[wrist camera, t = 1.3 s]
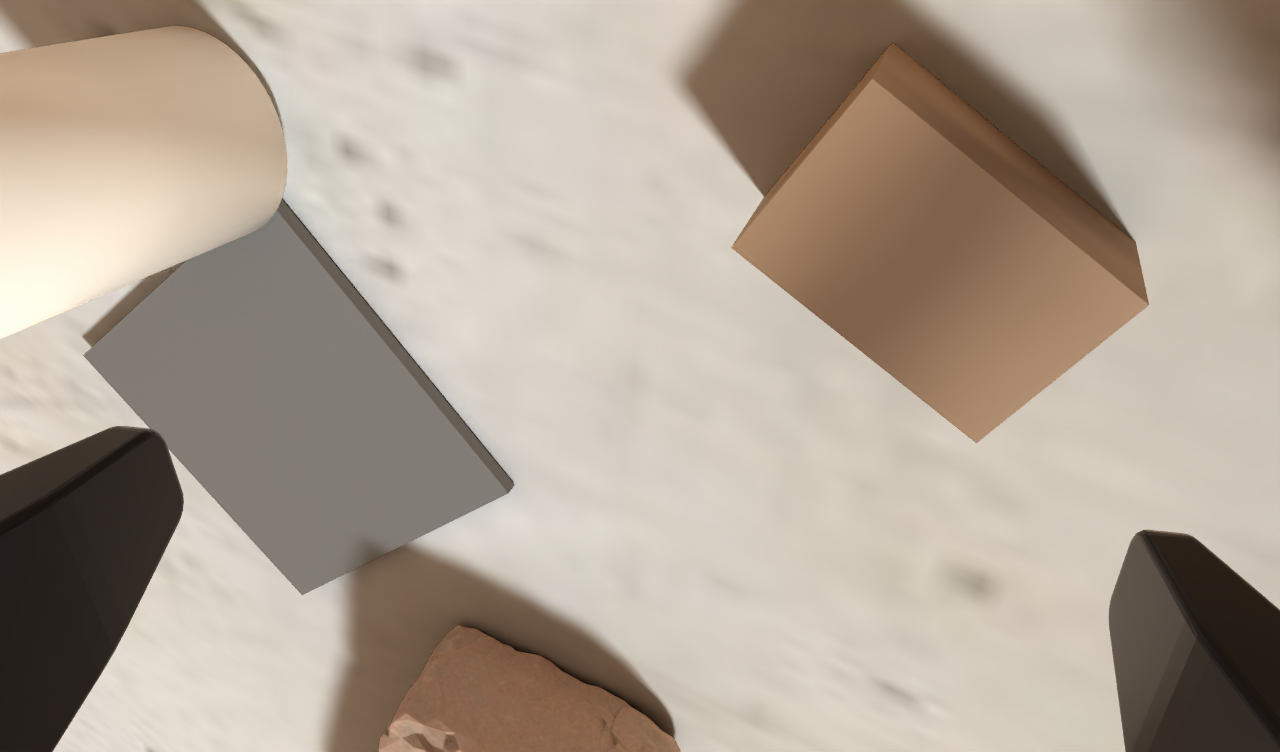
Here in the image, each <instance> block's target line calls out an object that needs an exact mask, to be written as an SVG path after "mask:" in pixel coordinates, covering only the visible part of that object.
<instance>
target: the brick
mask: <svg viewBox="0 0 1280 752" xmlns="http://www.w3.org/2000/svg"><path fill="white" fill-rule="evenodd" d="M378 752H680V749H679V747H678V745H677V743H676V741H675V739H674V738H673V737H671V736H670V735H668V734H667V733H665V732H663V731H662V730H661V729H660V728H659V727H658V726H657V725H656V724H655V723H654V722H653V721H652V720H651V719H650V718H649V717H647V716H645V715H644V714H642V713H640V712H639V711H637V710H635V709H634V708H632V707H630V706H629V705H628V704H627V702H626V701H624V700H622V699H620V698H618V697H616V696H614V695H612V694H611V693H609V692H607V691H605V690H604V689H602V688H600V687H597V686H593V685H589V684H585V683H583V682H581V681H580V680H578V679H576V678H574V677H572V676H570V675H568V674H566V673H564V672H562V671H561V670H560V669H559V668H557V667H556V666H555V665H554V664H553V663H552V662H550V661H549V660H547V659H545V658H543V657H541V656H540V655H535V654H530V653H524V652H518V651H516V650H514V649H513V648H512V647H511V646H509V645H506V644H502V643H501V642H499V641H498V640H496V639H494V638H492V637H490V636H488V635H486V634H484V633H482V632H481V631H479V630H477V629H474V628H466V627H463V626H460V625H458V626H456V627H455V628H454V629H452V630H451V631H450V632H448V634H447V635H446V636H445V637H444V638H443V639H442V640H441V641H440V642H439V643H438V645H437V646H436V648H435V649H434V651H433V652H432V654H431V656H430V658H429V660H428V662H427V663H426V664H425V667H424V669H423V671H422V673H421V675H420V677H419V678H418V679H417V681H416V682H415V683H414V684H413V685H412V687H411V688H410V689H409V690H408V691H407V693H406V695H405V697H404V699H403V701H402V702H401V703H400V705H399V707H398V709H397V711H396V713H395V715H394V717H393V719H392V721H391V723H390V725H389V726H388V727H387V728H386V729H385V731H384V732H383V734H382V735H381V737H380V742H379V750H378Z"/></svg>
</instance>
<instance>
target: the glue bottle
mask: <svg viewBox="0 0 1280 752" xmlns="http://www.w3.org/2000/svg"><path fill="white" fill-rule="evenodd" d="M286 179H287V152H286V144H285V139H284V134H283V130H282V127H281V124H280V121H279V117H278V115H277V113H276V110H275V108H274V105H273V103H272V101H271V99H270V97H269V95H268V94H267V92H266V90H265V88H264V87H263V85H262V84H261V82H260V80H259V79H258V77H257V76H256V75H255V73H254V72H253V71H252V70H251V68H250V67H249V66H248V65H247V64H246V63H245V62H244V61H243V59H242V58H241V57H240V56H239V55H238V54H237V53H235V52H234V51H233V50H232V49H231V48H229V47H228V46H227V45H226V44H224V43H223V42H221V41H220V40H218V39H217V38H215V37H213V36H211V35H209V34H207V33H205V32H203V31H200V30H197V29H194V28H190V27H183V26H167V27H161V28H154V29H148V30H142V31H136V32H129V33H123V34H117V35H111V36H104V37H98V38H92V39H85V40H79V41H73V42H67V43H60V44H54V45H48V46H42V47H35V48H29V49H23V50H16V51H10V52H4V53H0V339H1V338H4V337H6V336H8V335H11V334H13V333H16V332H18V331H20V330H23V329H25V328H27V327H30V326H32V325H34V324H37V323H39V322H42V321H44V320H46V319H49V318H51V317H53V316H56V315H58V314H61V313H63V312H65V311H68V310H70V309H72V308H75V307H77V306H79V305H82V304H84V303H87V302H89V301H91V300H94V299H96V298H98V297H101V296H103V295H105V294H108V293H110V292H113V291H115V290H117V289H120V288H122V287H124V286H127V285H129V284H132V283H134V282H136V281H139V280H141V279H143V278H146V277H148V276H150V275H153V274H155V273H158V272H160V271H162V270H165V269H167V268H169V267H172V266H174V265H176V264H179V263H181V262H184V261H186V260H188V259H191V258H193V257H195V256H198V255H200V254H203V253H205V252H207V251H210V250H212V249H214V248H217V247H219V246H221V245H224V244H226V243H229V242H231V241H233V240H236V239H238V238H240V237H243V236H245V235H247V234H250V233H252V232H254V231H256V230H258V229H259V228H261V227H262V226H263V225H265V224H266V223H267V222H268V221H269V220H270V219H271V217H272V216H273V215H274V213H275V212H276V210H277V209H278V207H279V204H280V202H281V200H282V197H283V194H284V190H285V186H286Z"/></svg>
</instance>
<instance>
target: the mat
mask: <svg viewBox="0 0 1280 752" xmlns="http://www.w3.org/2000/svg"><path fill="white" fill-rule="evenodd" d="M83 356H84V357H85V358H86V359H87V360H88V361H89V362H90V363H91V364H92V366H93V367H94V368H95V369H96V370H97V371H98V372H99V373H100V374H101V375H102V376H103V378H104V379H105V380H106V381H107V382H108V383H109V384H110V385H111V386H112V387H113V389H114V390H115V391H116V392H117V393H118V394H119V395H120V396H121V397H122V398H123V399H124V401H125V402H126V403H127V404H128V405H129V406H130V407H131V408H132V409H133V410H134V412H135V413H136V414H137V415H138V416H139V417H140V418H141V419H142V420H143V421H144V422H145V424H146V425H147V426H148V427H149V428H150V429H153V430H155V431H157V432H159V433H160V435H161V436H162V437H163V438H164V440H165V442H166V444H167V447H168V449H169V450H170V451H171V452H172V453H173V454H174V455H175V456H176V458H177V459H178V460H179V461H180V462H181V463H182V464H183V465H184V466H185V467H186V468H187V470H188V471H189V472H190V473H191V474H192V475H193V476H194V477H195V478H196V479H197V481H198V482H199V483H200V484H201V485H202V486H203V487H204V488H205V489H206V490H207V491H208V493H209V494H210V495H211V496H212V497H213V498H214V499H215V500H216V501H217V502H218V504H219V505H220V506H221V507H222V508H223V509H224V510H225V511H226V512H227V513H228V514H229V516H230V517H231V518H232V519H233V520H234V521H235V522H236V523H237V524H238V525H239V527H240V528H241V529H242V530H243V531H244V532H245V533H246V534H247V535H248V536H249V537H250V539H251V540H252V541H253V542H254V543H255V544H256V545H257V546H258V547H259V548H260V550H261V551H262V552H263V553H264V554H265V555H266V556H267V557H268V558H269V559H270V561H271V562H272V563H273V564H274V565H275V566H276V567H277V568H278V569H279V570H280V571H281V573H282V574H283V575H284V576H285V577H286V578H287V579H288V580H289V581H290V582H291V584H292V585H293V586H294V587H295V588H296V589H297V590H298V591H299V592H300V593H301V594H302V595H303V594H305V593H307V592H310V591H312V590H314V589H316V588H318V587H320V586H322V585H324V584H326V583H328V582H330V581H332V580H334V579H336V578H338V577H340V576H342V575H344V574H346V573H348V572H350V571H352V570H354V569H356V568H358V567H360V566H362V565H364V564H366V563H368V562H370V561H372V560H374V559H376V558H378V557H380V556H382V555H384V554H386V553H388V552H390V551H392V550H394V549H396V548H398V547H401V546H403V545H405V544H407V543H409V542H411V541H413V540H415V539H417V538H419V537H421V536H423V535H425V534H427V533H429V532H431V531H433V530H435V529H437V528H439V527H441V526H443V525H445V524H447V523H449V522H451V521H453V520H455V519H457V518H459V517H461V516H463V515H465V514H467V513H469V512H471V511H473V510H475V509H477V508H479V507H481V506H483V505H485V504H487V503H490V502H492V501H494V500H496V499H498V498H500V497H502V496H504V495H506V494H508V493H509V492H510V490H511V489H512V488H513V486H514V483H513V482H512V481H511V480H510V479H509V477H508V476H507V475H506V474H505V472H504V471H503V470H502V469H501V467H500V466H499V465H498V464H497V463H496V461H495V460H494V459H493V458H492V456H491V455H490V454H489V453H488V452H487V450H486V449H485V448H484V447H483V445H482V444H481V443H480V442H479V440H478V439H477V438H476V437H475V436H474V434H473V433H472V432H471V431H470V429H469V428H468V427H467V426H466V424H465V423H464V422H463V421H462V420H461V418H460V417H459V416H458V415H457V413H456V412H455V411H454V410H453V409H452V407H451V406H450V405H449V404H448V402H447V401H446V400H445V399H444V397H443V396H442V395H441V394H440V393H439V391H438V390H437V389H436V388H435V386H434V385H433V384H432V383H431V382H430V380H429V379H428V378H427V377H426V375H425V374H424V373H423V372H422V370H421V369H420V368H419V367H418V366H417V364H416V363H415V362H414V361H413V359H412V358H411V357H410V356H409V355H408V353H407V352H406V351H405V350H404V348H403V347H402V346H401V345H400V343H399V342H398V341H397V340H396V339H395V337H394V336H393V335H392V334H391V332H390V331H389V330H388V329H387V328H386V326H385V325H384V324H383V323H382V321H381V320H380V319H379V318H378V316H377V315H376V314H375V313H374V312H373V310H372V309H371V308H370V307H369V305H368V304H367V303H366V302H365V301H364V299H363V298H362V297H361V296H360V294H359V293H358V292H357V291H356V289H355V288H354V287H353V286H352V285H351V283H350V282H349V281H348V280H347V278H346V277H345V276H344V275H343V274H342V272H341V271H340V270H339V269H338V267H337V266H336V265H335V264H334V262H333V261H332V260H331V259H330V258H329V256H328V255H327V254H326V253H325V251H324V250H323V249H322V248H321V247H320V245H319V244H318V243H317V242H316V240H315V239H314V238H313V237H312V235H311V234H310V233H309V232H308V231H307V229H306V228H305V227H304V226H303V224H302V223H301V222H300V221H299V220H298V218H297V217H296V216H295V215H294V213H293V212H292V211H291V210H290V208H289V207H288V206H287V205H286V204H285V202H284V201H283V200H281V202H280V204H279V207H278V209H277V210H276V212H275V213H274V215H273V216H272V217H271V219H270V220H269V221H268V222H267V223H266V224H265V225H263V226H262V227H261V228H259V229H258V230H256V231H254V232H252V233H250V234H247V235H245V236H243V237H240V238H238V239H236V240H233V241H231V242H229V243H226V244H224V245H221V246H219V247H217V248H214V249H212V250H210V251H207V252H205V253H203V254H200V255H198V256H195V257H193V258H191V259H188V260H186V261H185V262H184V263H183V264H182V265H181V266H180V267H179V268H178V269H177V270H175V271H174V272H173V273H172V274H171V275H170V276H169V277H168V278H167V279H166V280H165V281H163V282H162V283H161V284H160V285H159V286H158V287H157V288H156V289H155V290H154V291H153V292H152V293H150V294H149V295H148V296H147V297H146V298H145V299H144V300H143V301H142V302H141V303H140V304H138V305H137V306H136V307H135V308H134V309H133V310H132V311H131V312H130V313H129V314H128V315H127V316H125V317H124V318H123V319H122V320H121V321H120V322H119V323H118V324H117V325H116V326H115V327H113V328H112V329H111V330H110V331H109V332H108V333H107V334H106V335H105V336H104V337H103V338H102V339H100V340H99V341H98V342H97V343H96V344H95V345H94V346H93V347H92V348H91V349H90V350H88V351H87V352H86V353H85V354H84V355H83Z"/></svg>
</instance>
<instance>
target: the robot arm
mask: <svg viewBox="0 0 1280 752" xmlns="http://www.w3.org/2000/svg"><path fill="white" fill-rule="evenodd" d="M183 504H184V500H183V492H182V489H181V486H180V483H179V480H178V477H177V474H176V471H175V468H174V465H173V462H172V459H171V456H170V453H169V450H168V447H167V444H166V442H165V440H164V438H163V437H162V436H161V435H160V433H159V432H157V431H155V430H153V429H147V428H138V427H128V426H116V427H112V428H109V429H106V430H104V431H102V432H99V433H97V434H95V435H92V436H90V437H88V438H85V439H83V440H81V441H78V442H76V443H74V444H71V445H69V446H67V447H64V448H62V449H60V450H57V451H55V452H53V453H50V454H48V455H46V456H43V457H41V458H39V459H36V460H34V461H32V462H29V463H27V464H25V465H23V466H20V467H18V468H16V469H13V470H11V471H9V472H6V473H4V474H2V475H0V752H53V750H54V749H55V747H56V745H57V744H58V742H59V741H60V739H61V737H62V736H63V734H64V733H65V731H66V729H67V728H68V726H69V725H70V723H71V721H72V720H73V718H74V717H75V715H76V713H77V712H78V710H79V709H80V707H81V705H82V704H83V702H84V701H85V699H86V697H87V696H88V694H89V693H90V691H91V689H92V688H93V686H94V685H95V683H96V681H97V680H98V678H99V677H100V675H101V673H102V672H103V670H104V668H105V667H106V665H107V663H108V662H109V660H110V658H111V656H112V655H113V653H114V651H115V650H116V648H117V646H118V644H119V642H120V640H121V638H122V636H123V634H124V632H125V631H126V629H127V627H128V625H129V623H130V621H131V619H132V617H133V614H134V612H135V610H136V608H137V606H138V604H139V602H140V600H141V598H142V596H143V594H144V592H145V590H146V588H147V586H148V584H149V582H150V580H151V578H152V576H153V574H154V572H155V570H156V568H157V566H158V564H159V562H160V560H161V558H162V556H163V554H164V551H165V549H166V547H167V545H168V543H169V541H170V539H171V537H172V535H173V533H174V531H175V529H176V527H177V525H178V523H179V521H180V518H181V515H182V511H183ZM1109 629H1110V637H1111V645H1112V652H1113V660H1114V667H1115V675H1116V683H1117V690H1118V698H1119V705H1120V713H1121V721H1122V728H1123V736H1124V743H1125V751H1126V752H1280V610H1279V609H1278V608H1277V607H1276V606H1275V605H1274V604H1272V603H1271V602H1270V601H1269V600H1268V599H1267V598H1265V597H1264V596H1263V595H1262V594H1261V593H1259V592H1258V591H1257V590H1256V589H1255V588H1254V587H1252V586H1251V585H1250V584H1249V583H1248V582H1247V581H1245V580H1244V579H1243V578H1242V577H1241V576H1240V575H1238V574H1237V573H1236V572H1235V571H1234V570H1232V569H1231V568H1230V567H1229V566H1228V565H1227V564H1225V563H1224V562H1223V561H1222V560H1221V559H1220V558H1218V557H1217V556H1216V555H1215V554H1214V553H1213V552H1211V551H1210V550H1209V549H1208V548H1207V547H1205V546H1204V545H1203V544H1202V543H1201V542H1200V541H1198V540H1197V539H1195V538H1194V537H1193V536H1190V535H1188V534H1183V533H1174V532H1165V531H1155V530H1143V531H1140V532H1138V533H1136V535H1135V536H1134V537H1133V539H1132V540H1131V543H1130V545H1129V548H1128V551H1127V554H1126V556H1125V559H1124V562H1123V565H1122V568H1121V571H1120V574H1119V577H1118V580H1117V583H1116V585H1115V588H1114V591H1113V594H1112V597H1111V601H1110V607H1109Z"/></svg>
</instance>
